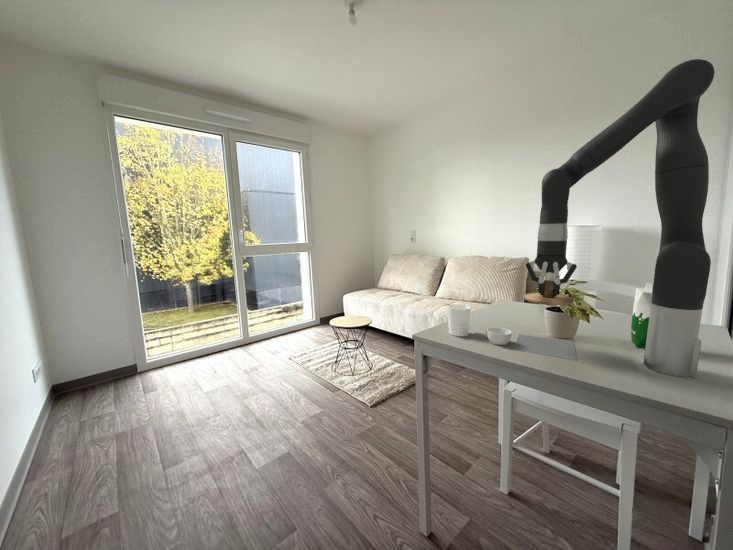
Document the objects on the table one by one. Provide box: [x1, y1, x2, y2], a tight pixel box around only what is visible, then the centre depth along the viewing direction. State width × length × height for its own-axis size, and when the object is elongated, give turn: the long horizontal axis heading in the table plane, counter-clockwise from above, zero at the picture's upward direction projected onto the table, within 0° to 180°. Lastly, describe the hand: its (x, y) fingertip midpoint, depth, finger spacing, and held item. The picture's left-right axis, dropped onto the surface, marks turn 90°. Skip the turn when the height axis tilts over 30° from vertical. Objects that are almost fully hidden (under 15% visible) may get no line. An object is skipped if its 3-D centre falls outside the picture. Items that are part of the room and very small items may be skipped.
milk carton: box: [630, 287, 653, 349], centre depth 93 cm, size 9×9×20 cm
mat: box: [513, 333, 578, 362], centre depth 95 cm, size 16×16×1 cm
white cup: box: [447, 303, 472, 337], centre depth 108 cm, size 8×8×10 cm
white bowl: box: [485, 326, 513, 346], centre depth 98 cm, size 10×10×5 cm
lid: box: [523, 279, 575, 306], centre depth 92 cm, size 13×13×6 cm
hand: (548, 295), depth 92 cm, fingers closed on lid, 3 cm apart
